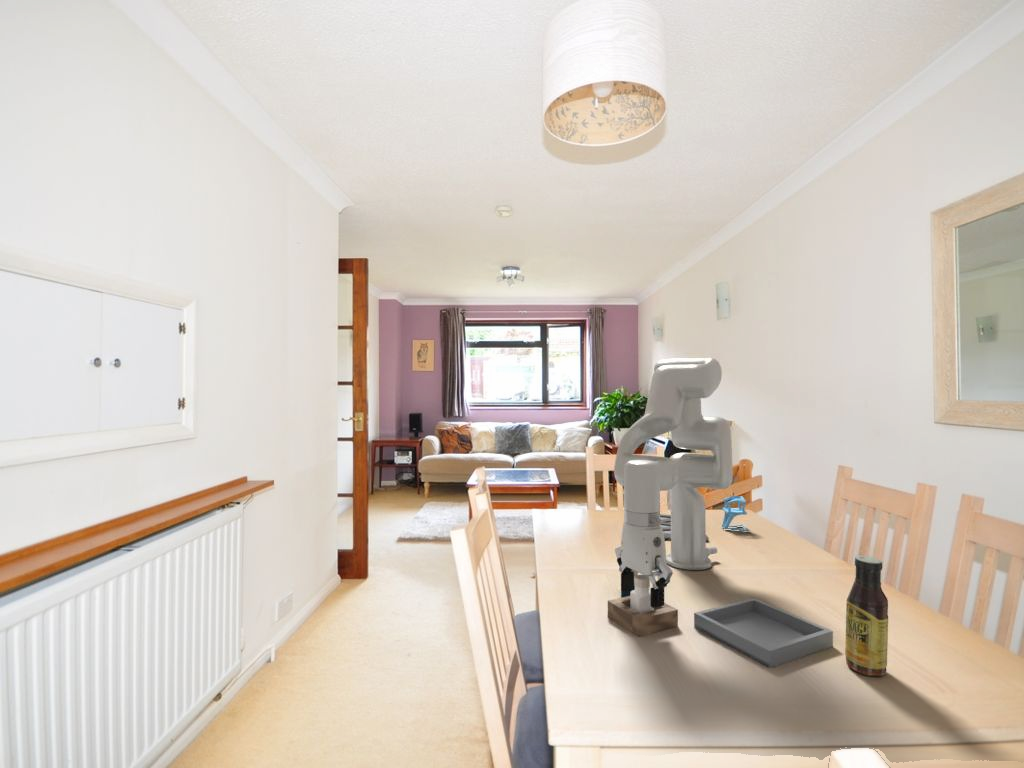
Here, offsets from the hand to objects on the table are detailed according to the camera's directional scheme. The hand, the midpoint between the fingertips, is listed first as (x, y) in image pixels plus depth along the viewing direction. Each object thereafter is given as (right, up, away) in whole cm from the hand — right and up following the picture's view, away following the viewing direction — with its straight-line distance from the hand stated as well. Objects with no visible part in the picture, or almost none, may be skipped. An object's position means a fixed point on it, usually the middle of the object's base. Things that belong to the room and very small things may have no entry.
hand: (641, 598), depth 113 cm
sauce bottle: (+35, -5, -19) cm, 41 cm away
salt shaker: (0, -5, 0) cm, 5 cm away
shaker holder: (0, -5, 0) cm, 5 cm away
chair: (+52, -6, +74) cm, 91 cm away
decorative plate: (+29, -7, +75) cm, 81 cm away
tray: (+22, -5, -7) cm, 24 cm away
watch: (+2, -5, +15) cm, 16 cm away
